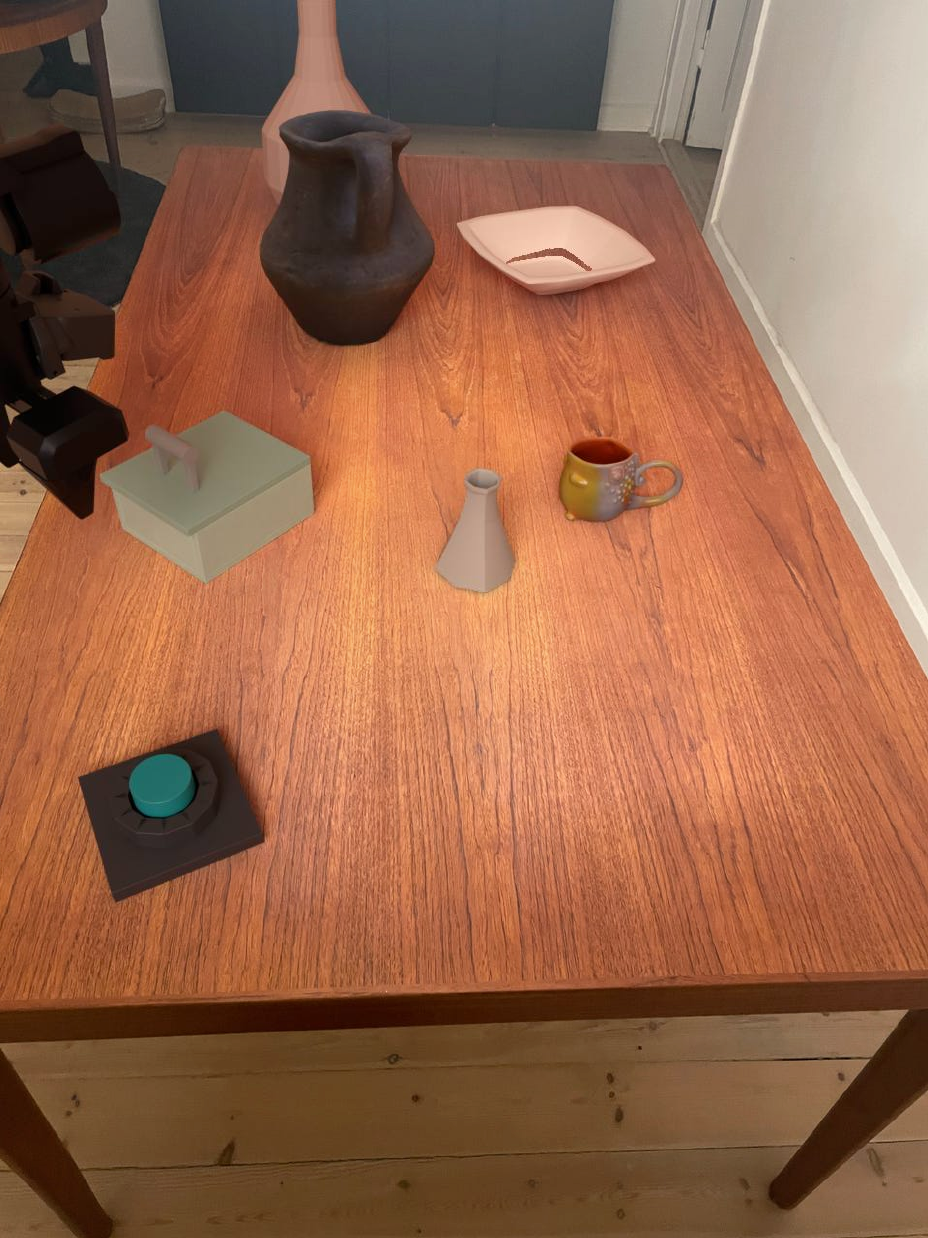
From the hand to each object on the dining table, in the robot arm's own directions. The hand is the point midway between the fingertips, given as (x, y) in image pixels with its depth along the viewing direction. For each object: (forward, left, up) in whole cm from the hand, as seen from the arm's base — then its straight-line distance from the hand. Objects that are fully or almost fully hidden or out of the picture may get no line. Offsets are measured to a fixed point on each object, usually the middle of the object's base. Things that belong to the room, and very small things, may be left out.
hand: (48, 489), depth 67 cm
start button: (+1, -22, -11) cm, 24 cm away
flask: (+33, -8, -14) cm, 36 cm away
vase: (+50, +71, -14) cm, 88 cm away
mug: (+50, -6, -14) cm, 52 cm away
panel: (+1, -22, -14) cm, 26 cm away
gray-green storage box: (+14, +8, -14) cm, 21 cm away
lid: (+13, +8, -8) cm, 17 cm away
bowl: (+72, +42, -14) cm, 84 cm away
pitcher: (+41, +39, -14) cm, 58 cm away
